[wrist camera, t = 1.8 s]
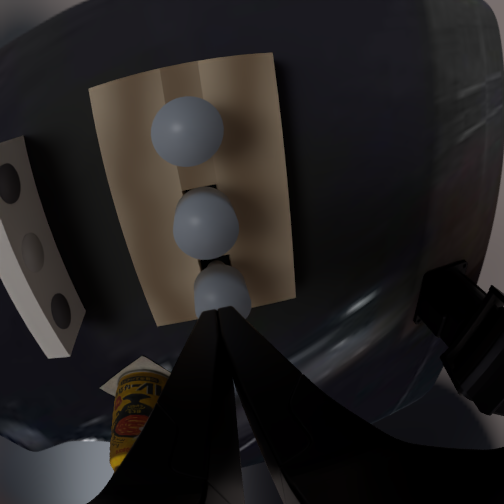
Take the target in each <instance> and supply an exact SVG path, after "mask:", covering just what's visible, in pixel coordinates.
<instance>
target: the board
mask: <svg viewBox="0 0 504 504" xmlns="http://www.w3.org/2000/svg"><path fill="white" fill-rule="evenodd" d="M89 94H90V100H91V105H92V111H93V116H94V122H95V127H96V131H97V136H98V141H99V145H100V150H101V154H102V158H103V163H104V167H105V171H106V175H107V179H108V182H109V186H110V190H111V194H112V197H113V201H114V204H115V208H116V211H117V215H118V218H119V221H120V224H121V228H122V231H123V234H124V237H125V240H126V243H127V246H128V249H129V252H130V255H131V258H132V261H133V264H134V267H135V270H136V272H137V275H138V278H139V281H140V283H141V286H142V289H143V291H144V294H145V297H146V299H147V302H148V304H149V307H150V309H151V312H152V314H153V317H154V319H155V322H156V324H157V326H162V325H168V324H173V323H179V322H184V321H189V320H195V319H198V317H197V316H196V313H195V302H194V282H195V279H196V277H197V276H198V274H199V273H200V272H201V271H202V270H203V269H202V265H201V261H200V260H202V259H196V258H193V257H191V256H188V255H187V254H185V253H184V252H183V251H182V250H181V249H180V248H179V247H178V245H177V243H176V241H175V239H174V235H173V225H174V217H175V209H176V206H177V204H178V202H179V200H180V199H181V197H182V196H183V195H184V194H185V190H189V189H194V188H198V187H204V186H209V185H214V184H216V187H217V189H218V190H219V191H221V192H223V193H224V194H225V195H226V196H227V197H228V199H229V200H230V202H231V204H232V207H233V209H234V212H235V214H236V217H237V219H238V223H239V234H238V237H237V240H236V242H235V244H234V245H233V247H232V248H231V249H230V250H229V251H228V252H227V253H225V254H224V255H228V254H229V259H230V264H231V266H232V267H234V268H236V269H237V270H238V271H240V273H241V274H242V275H243V277H244V280H245V283H246V286H247V289H248V293H249V296H250V299H251V308H253V307H257V306H262V305H266V304H271V303H275V302H279V301H284V300H288V299H292V298H296V293H295V275H294V260H293V245H292V231H291V218H290V206H289V194H288V183H287V173H286V162H285V152H284V143H283V133H282V124H281V115H280V107H279V99H278V90H277V83H276V75H275V67H274V60H273V53H259V54H248V55H238V56H229V57H221V58H214V59H207V60H201V61H195V62H189V63H183V64H178V65H173V66H169V67H164V68H159V69H155V70H151V71H147V72H143V73H139V74H135V75H132V76H128V77H124V78H121V79H117V80H114V81H111V82H108V83H105V84H101V85H98V86H95V87H92V88H90V89H89ZM185 96H192V97H198V98H201V99H204V100H206V101H208V102H209V103H210V104H212V105H213V106H214V107H215V108H216V109H217V111H218V112H219V114H220V116H221V118H222V121H223V126H224V135H223V139H222V142H221V145H220V147H219V149H218V150H217V152H216V153H215V154H214V155H213V156H212V157H211V158H210V159H208V160H207V161H205V162H204V163H202V164H199V165H196V166H191V167H181V166H176V165H173V164H170V163H169V162H167V161H165V160H164V159H163V158H162V157H161V156H160V155H159V154H158V153H157V152H156V150H155V148H154V146H153V143H152V139H151V127H152V123H153V120H154V118H155V116H156V114H157V113H158V111H159V110H160V109H161V108H162V107H163V106H164V105H165V104H167V103H168V102H170V101H172V100H174V99H176V98H180V97H185ZM222 256H223V255H222Z"/></svg>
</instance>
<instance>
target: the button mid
mask: <svg viewBox="0 0 504 504" xmlns="http://www.w3.org/2000/svg"><path fill="white" fill-rule="evenodd" d="M238 234H239V223H238V219H237V217H236V214H235V212H234V209H233V207H232V204H231V202H230V200H229V199H228V197H227V196H226V195H225V194H224V193H223V192H221V191H219V190H218V189H215V188H212V187H198V188H194V189H192V190H190V191H188V192H187V193H185V194H184V195H183V196H182V197H181V199H180V200H179V202H178V204H177V206H176V209H175V217H174V225H173V235H174V239H175V241H176V243H177V245H178V247H179V248H180V249H181V250H182V251H183V252H184V253H185V254H187V255H188V256H191V257H193V258H196V259H202V260H209V259H214V258H217V257H220V256H222V255H224V254H225V253H227V252H228V251H229V250H230V249H231V248H232V247H233V245H234V244H235V242H236V240H237V237H238Z"/></svg>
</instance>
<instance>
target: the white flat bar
mask: <svg viewBox="0 0 504 504" xmlns="http://www.w3.org/2000/svg"><path fill="white" fill-rule="evenodd" d="M0 278H1V280H2V282H3V284H4V286H5V288H6V290H7V291H8V293H9V295H10V297H11V299H12V301H13V303H14V304H15V306H16V308H17V310H18V312H19V313H20V315H21V317H22V318H23V320H24V322H25V323H26V325H27V327H28V328H29V330H30V332H31V333H32V335H33V336H34V338H35V339H36V341H37V343H38V344H39V346H40V347H41V349H42V350H43V352H44V353H45V354H46V356H47V357H48V359H49V358H60V357H70V355H71V352H72V349H73V346H74V343H75V340H76V337H77V334H78V332H79V329H80V326H81V323H82V321H83V318H84V315H85V313H86V310H85V308H84V306H83V304H82V302H81V300H80V298H79V296H78V294H77V292H76V290H75V288H74V286H73V284H72V281H71V279H70V277H69V275H68V272H67V270H66V268H65V265H64V263H63V261H62V258H61V256H60V253H59V251H58V249H57V246H56V243H55V241H54V238H53V236H52V233H51V230H50V227H49V225H48V222H47V219H46V216H45V213H44V210H43V207H42V204H41V201H40V198H39V195H38V191H37V188H36V185H35V181H34V178H33V174H32V170H31V166H30V163H29V159H28V154H27V150H26V146H25V141H24V137H23V136H21V137H17V138H14V139H11V140H8V141H5V142H2V143H0Z"/></svg>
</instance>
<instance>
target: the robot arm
mask: <svg viewBox="0 0 504 504" xmlns="http://www.w3.org/2000/svg"><path fill="white" fill-rule="evenodd" d="M467 264H468V263H467V262H466V261H465V260H462V261H459V262H456V263H454V264H451V265H448V266H445V267H442V268H439V269H436V270H433V271H430V272H427V273H426V274H425V275H424V278H423V282H422V287H421V292H420V296H419V300H418V304H417V308H416V312H415V316H414V320H413V321H414V323H415V324H419V323H422V322H424V323H425V324H426V325H427V326H428V328H429V329H430V330H431V331H432V332H433V333H434V335H435V336H436V337H438V338H439V337H441V339H442V340H443V341H444V342H445V343H446V344H447V346H448V347H449V348H448V349H447V350H446V351H445V353H443V354H442V355H441V356H440V359H441V360H442V362H443V366H444V367H445V369H446V371H447V373H448V375H449V377H450V378H451V380H452V382H453V384H454V386H455V388H456V390H457V391H458V394H459V395H461V396H465V397H466V398H467V399H469V400H471V401H473V402H474V403H475V405H476V406H477V407H478V409H479V411H480V412H481V413H484V414H486V415H492V414H497V415H502V416H504V307H503V306H504V294H503V293H502V292H501V291H499V290H498V289H497V288H495V287H494V286H493V285H491V287H490V288H489V292H488V293H485V292H484V291H483V290H482V289H481V288H480V287H479V286H477V285H476V284H475V283H474V282H473V281H472V280H470V279H469V278H468V277H467V276H466V275H465V272H466V269H467ZM232 377H233V378H232ZM233 381H234V383H233ZM234 384H235V387H236V390H237V392H238V395H239V398H240V400H241V403H242V406H243V408H244V411H245V413H246V416H247V418H248V421H249V423H250V426H251V428H252V431H253V433H254V436H255V438H256V441H257V443H258V446H259V448H260V451H261V453H262V455H263V458H264V460H265V462H266V465H267V467H268V469H269V472H270V474H271V476H272V478H273V481H274V483H275V485H276V488H277V490H278V492H279V494H280V496H281V499H282V501H283V503H284V504H504V447H502V448H497V449H490V450H474V449H456V448H445V447H434V446H426V445H418V444H412V443H408V442H404V441H401V440H399V439H396V438H394V437H392V436H390V435H388V434H386V433H384V432H383V431H381V430H379V429H378V428H376V427H375V426H373V425H371V424H370V423H368V422H367V421H365V420H363V419H362V418H360V417H359V416H357V415H356V414H354V413H352V412H351V411H349V410H348V409H346V408H345V407H343V406H342V405H340V404H339V403H338V402H336V401H335V400H333V399H332V398H331V397H329V396H328V395H327V394H325V393H324V392H323V391H322V390H321V389H319V388H318V387H317V386H316V385H315V384H313V383H312V382H311V381H310V380H309V379H308V378H307V377H306V376H305V375H303V374H302V373H301V372H300V371H299V370H298V369H297V368H296V367H295V366H294V365H293V364H292V363H291V362H289V361H288V360H287V359H286V358H285V357H284V356H283V355H282V354H281V353H280V352H279V351H278V350H277V349H276V348H275V347H274V346H273V345H272V344H271V343H270V342H268V341H267V340H266V339H265V338H264V337H263V336H262V335H261V334H260V333H259V332H258V331H257V330H256V329H255V328H254V327H253V326H252V325H251V324H250V323H249V322H248V321H247V320H246V319H245V318H244V317H243V316H242V315H241V314H240V313H239V312H238V311H237V310H236V309H235V308H234V307H233V306H226V307H221V308H218V310H216V309H211V310H206V311H203V312H202V313H201V314H200V316H199V318H198V320H197V322H196V324H195V326H194V328H193V330H192V332H191V334H190V336H189V338H188V340H187V342H186V344H185V346H184V348H183V350H182V352H181V354H180V356H179V358H178V360H177V362H176V364H175V366H174V368H173V370H172V372H171V374H170V376H169V378H168V380H167V382H166V384H165V386H164V388H163V390H162V392H161V394H160V396H159V398H158V400H157V402H158V403H156V404H155V406H154V408H153V410H152V412H151V414H150V416H149V418H148V420H147V422H146V423H145V425H144V427H143V429H142V431H141V432H140V434H139V436H138V437H137V439H136V441H135V442H134V444H133V445H132V447H131V449H130V450H129V452H128V453H127V455H126V456H125V458H124V459H123V461H122V462H121V464H120V465H119V467H118V468H117V470H116V471H115V473H114V474H113V476H112V478H111V479H110V480H109V482H108V483H107V485H106V486H105V487H104V489H103V490H102V491H101V492H100V493H99V495H97V496H96V497H95V498H94V499H93V500H91V501H90V502H89V503H87V504H245V500H244V491H243V482H242V472H241V461H240V451H239V440H238V429H237V418H236V406H235V393H234Z"/></svg>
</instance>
